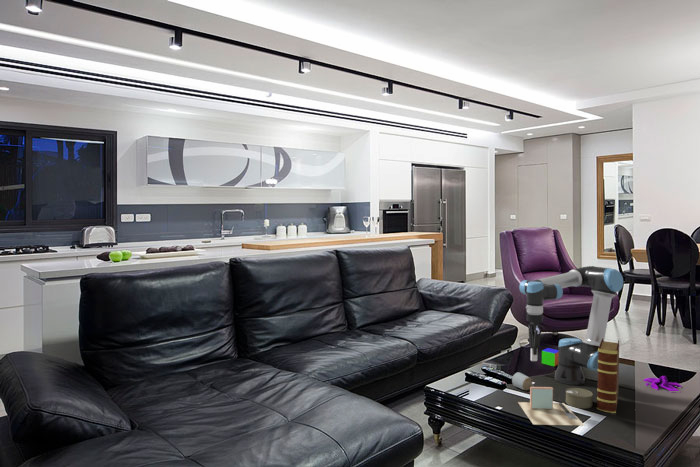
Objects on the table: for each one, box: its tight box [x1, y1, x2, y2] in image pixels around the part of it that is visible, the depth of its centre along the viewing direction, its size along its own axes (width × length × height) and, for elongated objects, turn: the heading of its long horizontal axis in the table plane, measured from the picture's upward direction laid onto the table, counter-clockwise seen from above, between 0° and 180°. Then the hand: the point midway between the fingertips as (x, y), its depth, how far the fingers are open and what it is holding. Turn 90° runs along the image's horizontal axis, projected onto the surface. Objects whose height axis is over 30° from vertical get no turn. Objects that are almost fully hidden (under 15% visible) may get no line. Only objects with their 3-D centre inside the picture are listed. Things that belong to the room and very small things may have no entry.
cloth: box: [642, 375, 682, 392], centre depth 258 cm, size 22×19×6 cm
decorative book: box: [596, 339, 620, 414], centre depth 232 cm, size 22×8×30 cm, turn 148°
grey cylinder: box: [511, 371, 535, 392], centre depth 256 cm, size 11×8×8 cm
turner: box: [558, 402, 578, 419], centre depth 224 cm, size 4×16×1 cm, turn 176°
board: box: [517, 401, 585, 427], centre depth 222 cm, size 22×24×1 cm
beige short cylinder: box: [564, 387, 594, 409], centre depth 233 cm, size 12×12×7 cm
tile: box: [529, 386, 554, 409], centre depth 227 cm, size 10×2×10 cm, turn 86°
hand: (533, 360), depth 238 cm, fingers closed
